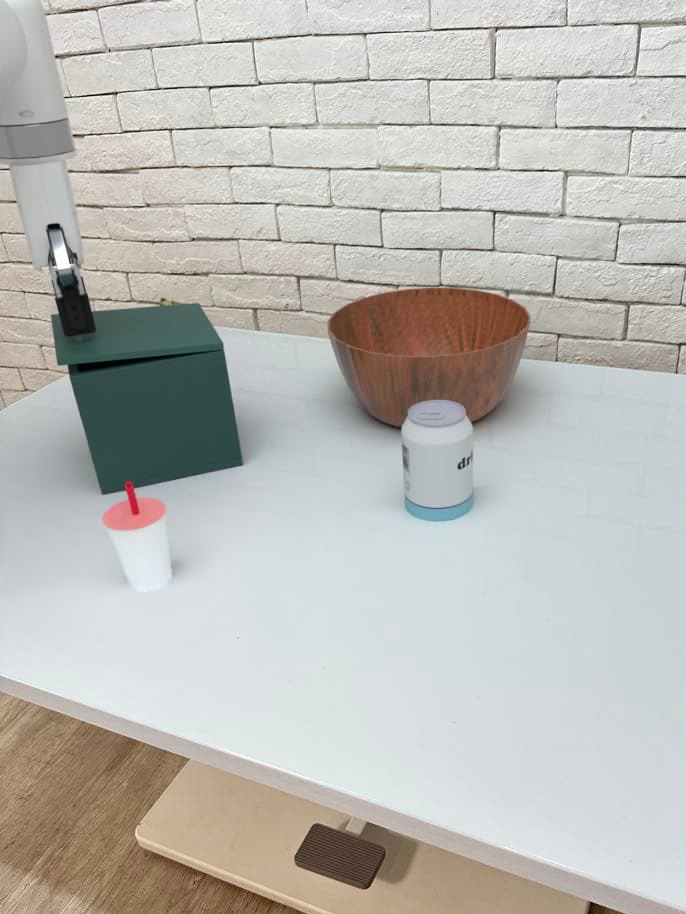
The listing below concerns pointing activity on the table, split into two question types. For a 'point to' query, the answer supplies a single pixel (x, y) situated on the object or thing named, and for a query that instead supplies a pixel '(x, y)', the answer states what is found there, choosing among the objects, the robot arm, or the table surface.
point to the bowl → (429, 349)
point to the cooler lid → (138, 334)
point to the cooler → (157, 417)
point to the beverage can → (437, 461)
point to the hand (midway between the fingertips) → (77, 322)
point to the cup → (141, 540)
